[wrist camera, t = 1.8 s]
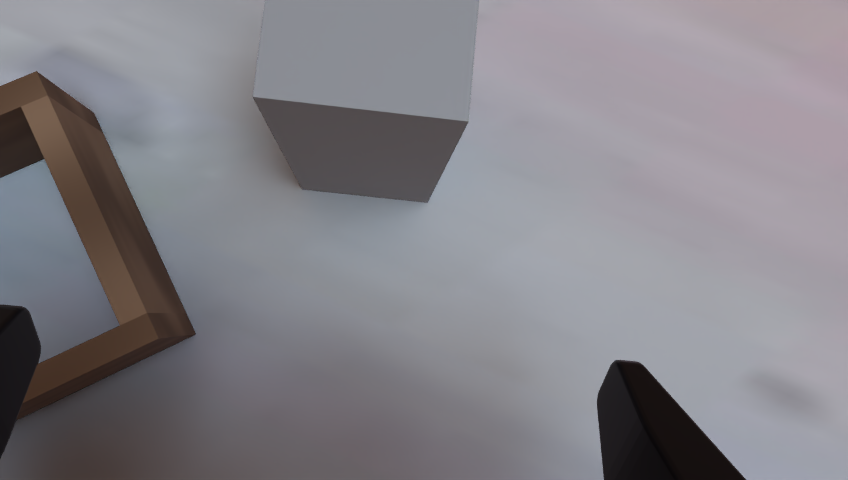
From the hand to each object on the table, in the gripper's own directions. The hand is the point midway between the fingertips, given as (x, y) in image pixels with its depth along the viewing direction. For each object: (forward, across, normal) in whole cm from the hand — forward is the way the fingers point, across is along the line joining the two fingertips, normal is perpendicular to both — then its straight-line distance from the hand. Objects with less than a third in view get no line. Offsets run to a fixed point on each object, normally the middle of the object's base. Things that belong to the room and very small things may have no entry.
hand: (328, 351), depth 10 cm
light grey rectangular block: (+14, 0, +4) cm, 15 cm away
